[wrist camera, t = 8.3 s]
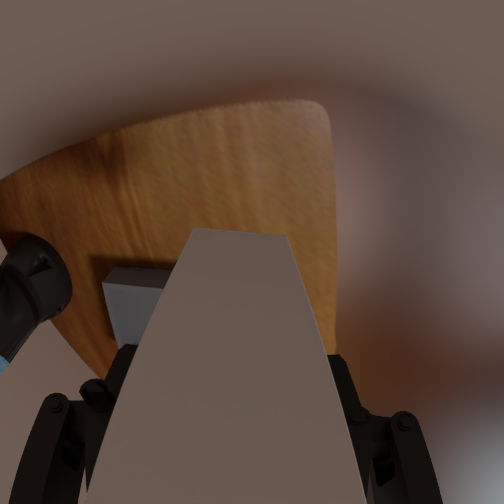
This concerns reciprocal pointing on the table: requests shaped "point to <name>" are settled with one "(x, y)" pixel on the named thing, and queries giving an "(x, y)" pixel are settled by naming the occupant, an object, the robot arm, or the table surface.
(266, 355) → the milk
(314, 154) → the table surface
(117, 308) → the bin
